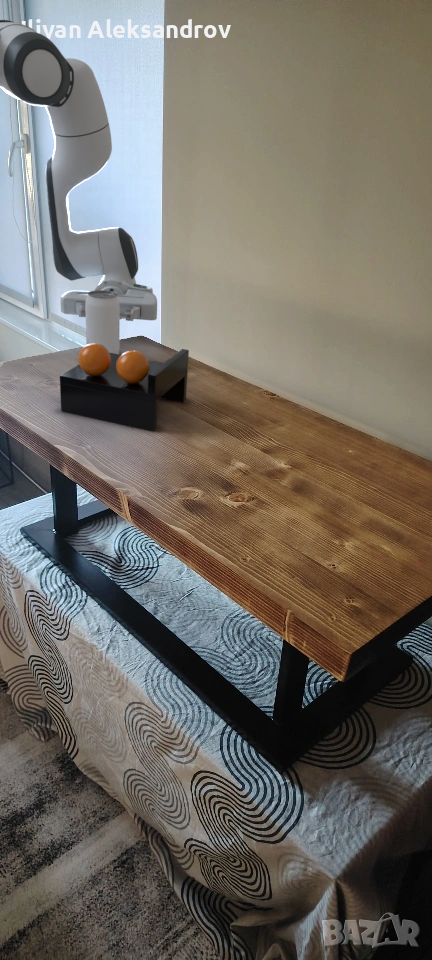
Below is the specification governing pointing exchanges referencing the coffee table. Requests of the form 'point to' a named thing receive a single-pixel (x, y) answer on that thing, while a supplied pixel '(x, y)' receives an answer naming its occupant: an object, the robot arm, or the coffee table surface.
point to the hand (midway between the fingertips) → (105, 315)
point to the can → (103, 319)
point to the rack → (122, 385)
